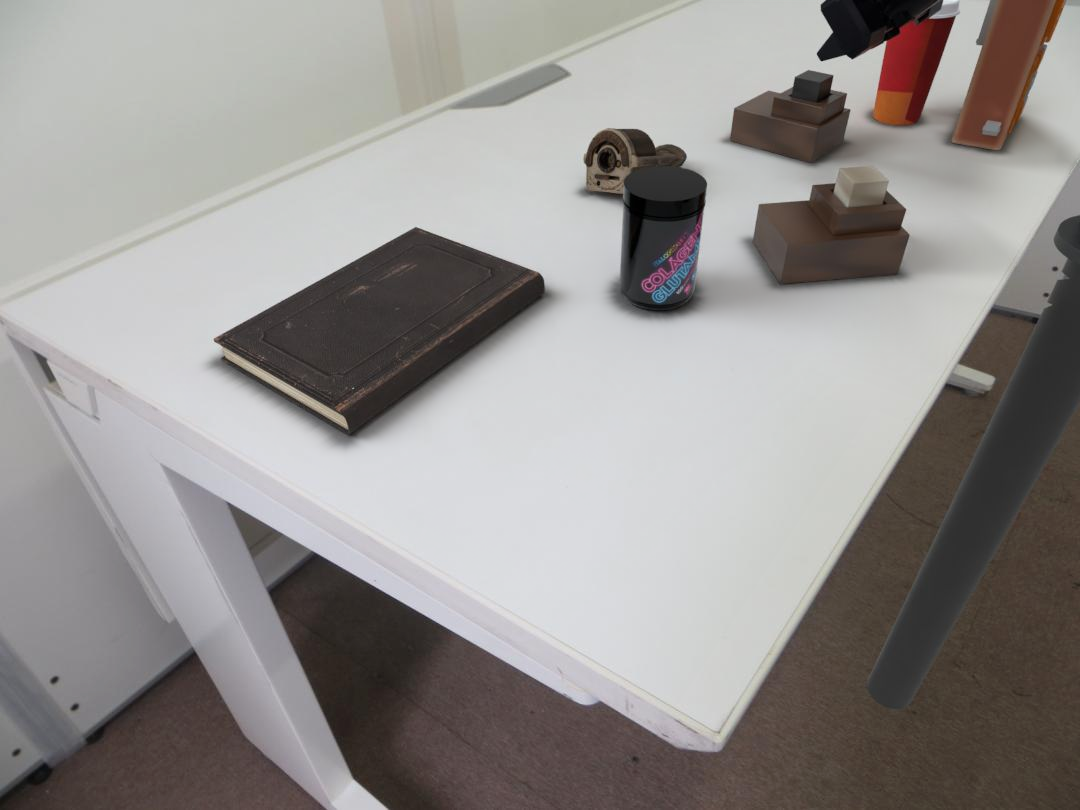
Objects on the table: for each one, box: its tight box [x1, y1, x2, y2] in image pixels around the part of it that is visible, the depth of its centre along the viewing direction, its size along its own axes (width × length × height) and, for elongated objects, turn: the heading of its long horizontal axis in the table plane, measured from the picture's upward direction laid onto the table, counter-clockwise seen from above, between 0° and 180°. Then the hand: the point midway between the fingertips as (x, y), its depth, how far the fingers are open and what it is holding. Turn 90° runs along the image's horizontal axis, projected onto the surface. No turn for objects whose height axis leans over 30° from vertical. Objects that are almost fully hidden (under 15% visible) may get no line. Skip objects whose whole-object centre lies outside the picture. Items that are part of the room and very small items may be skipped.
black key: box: [791, 69, 834, 103], centre depth 88 cm, size 3×3×2 cm
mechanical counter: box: [582, 127, 688, 195], centre depth 83 cm, size 7×13×10 cm
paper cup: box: [872, 0, 961, 126], centre depth 93 cm, size 8×8×14 cm
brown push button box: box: [752, 182, 911, 285], centre depth 70 cm, size 11×8×6 cm
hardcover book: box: [213, 226, 546, 435], centre depth 64 cm, size 16×23×2 cm
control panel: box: [951, 0, 1067, 152], centre depth 87 cm, size 21×7×15 cm
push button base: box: [729, 86, 851, 164], centre depth 91 cm, size 11×8×6 cm
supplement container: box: [619, 166, 708, 312], centre depth 65 cm, size 7×7×10 cm
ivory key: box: [834, 165, 890, 208], centre depth 67 cm, size 3×3×2 cm
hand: (819, 56), depth 85 cm, fingers closed
